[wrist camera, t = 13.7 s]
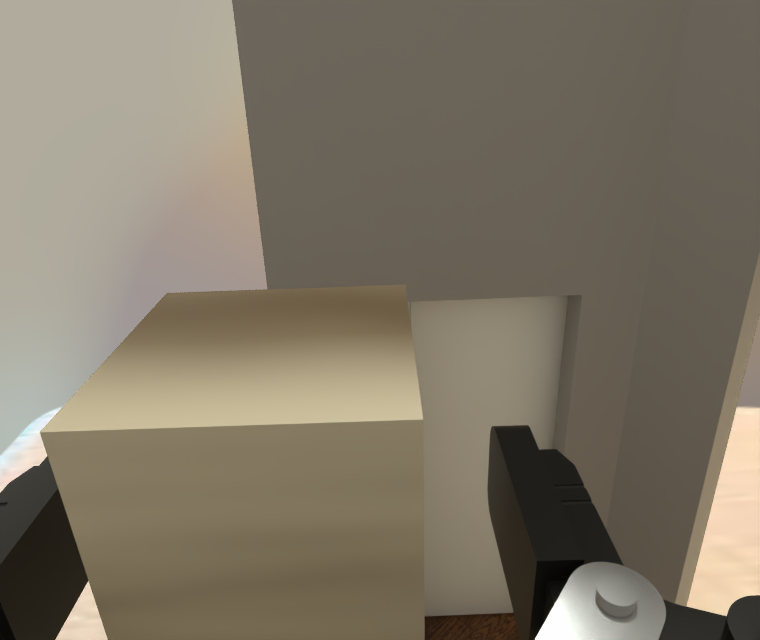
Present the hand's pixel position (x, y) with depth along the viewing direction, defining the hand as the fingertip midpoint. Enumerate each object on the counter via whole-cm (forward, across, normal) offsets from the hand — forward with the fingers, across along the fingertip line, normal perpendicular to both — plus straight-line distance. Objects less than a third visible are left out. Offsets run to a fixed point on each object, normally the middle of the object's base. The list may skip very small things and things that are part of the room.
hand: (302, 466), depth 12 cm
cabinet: (+9, +2, -14) cm, 17 cm away
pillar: (-2, 0, -8) cm, 8 cm away
